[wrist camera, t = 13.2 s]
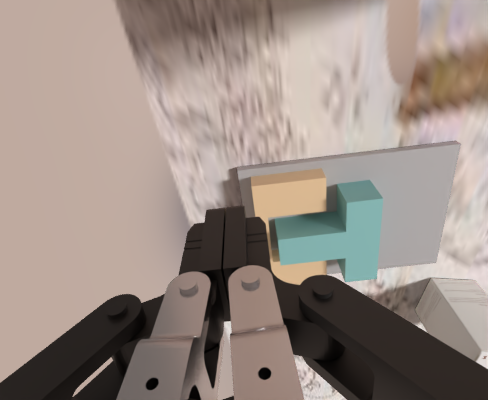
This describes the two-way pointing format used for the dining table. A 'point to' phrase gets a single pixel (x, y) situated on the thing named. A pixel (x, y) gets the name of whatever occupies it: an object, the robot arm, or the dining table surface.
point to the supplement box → (457, 316)
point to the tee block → (337, 233)
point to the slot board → (351, 170)
